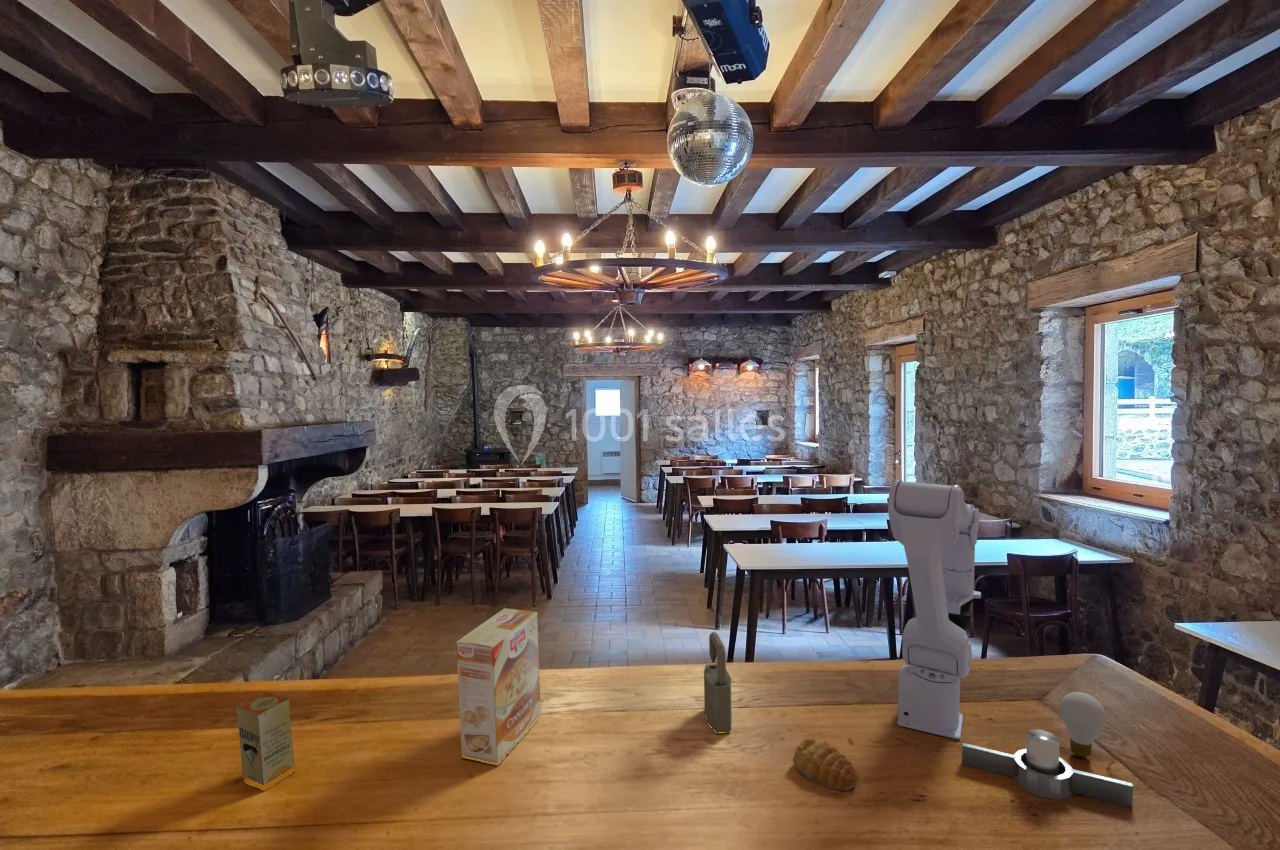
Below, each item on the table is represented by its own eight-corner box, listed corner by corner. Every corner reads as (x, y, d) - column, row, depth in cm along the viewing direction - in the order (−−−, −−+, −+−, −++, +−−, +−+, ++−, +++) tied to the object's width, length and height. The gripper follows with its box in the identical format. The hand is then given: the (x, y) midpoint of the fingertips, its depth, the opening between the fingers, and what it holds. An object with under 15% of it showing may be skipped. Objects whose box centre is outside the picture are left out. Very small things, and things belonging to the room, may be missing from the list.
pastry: (867, 781, 95) (867, 756, 95) (840, 801, 91) (840, 776, 90) (814, 752, 102) (814, 729, 102) (787, 769, 98) (787, 746, 98)
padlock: (723, 707, 116) (722, 626, 115) (735, 732, 108) (734, 646, 106) (701, 709, 115) (700, 628, 114) (712, 734, 107) (710, 648, 106)
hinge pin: (1027, 788, 92) (1028, 742, 91) (1024, 771, 96) (1025, 727, 95) (1060, 795, 91) (1061, 748, 90) (1055, 777, 94) (1057, 732, 93)
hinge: (960, 775, 95) (961, 756, 95) (963, 750, 101) (963, 732, 101) (1136, 821, 85) (1137, 800, 85) (1127, 790, 91) (1128, 770, 91)
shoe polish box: (274, 764, 102) (268, 692, 101) (294, 772, 100) (288, 698, 99) (243, 783, 98) (236, 707, 97) (264, 791, 96) (257, 714, 94)
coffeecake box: (498, 767, 100) (493, 646, 98) (459, 759, 102) (453, 641, 101) (543, 717, 114) (539, 610, 112) (508, 711, 116) (503, 606, 115)
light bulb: (1111, 770, 96) (1114, 705, 95) (1067, 766, 97) (1070, 702, 96) (1092, 746, 101) (1095, 686, 101) (1051, 743, 103) (1053, 683, 102)
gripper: (980, 582, 111) (978, 658, 112) (982, 559, 123) (981, 627, 125) (935, 576, 114) (933, 650, 116) (942, 554, 127) (940, 621, 128)
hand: (955, 638), depth 120 cm, fingers open, 7 cm apart
